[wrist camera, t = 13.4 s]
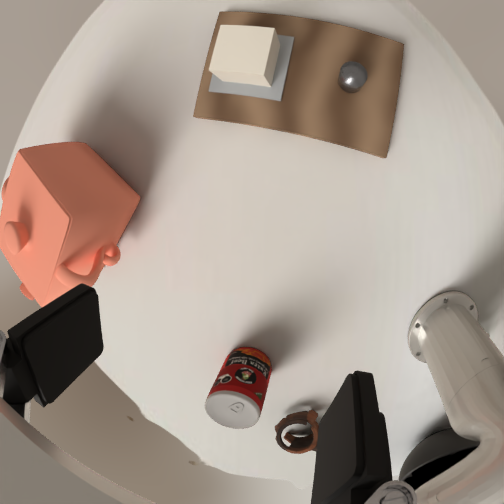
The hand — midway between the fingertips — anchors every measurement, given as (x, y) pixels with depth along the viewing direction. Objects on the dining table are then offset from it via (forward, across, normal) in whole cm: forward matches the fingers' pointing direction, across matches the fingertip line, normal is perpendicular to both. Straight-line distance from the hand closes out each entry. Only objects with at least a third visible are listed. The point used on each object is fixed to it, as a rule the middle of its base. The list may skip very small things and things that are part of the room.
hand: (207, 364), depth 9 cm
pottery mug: (+29, -14, +37) cm, 49 cm away
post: (+27, -4, -18) cm, 33 cm away
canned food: (+28, 0, +25) cm, 38 cm away
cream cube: (+26, +8, -18) cm, 33 cm away
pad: (+27, +8, -18) cm, 33 cm away
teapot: (+28, +32, +9) cm, 44 cm away
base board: (+28, +2, -18) cm, 34 cm away
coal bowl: (+28, -46, +38) cm, 66 cm away
